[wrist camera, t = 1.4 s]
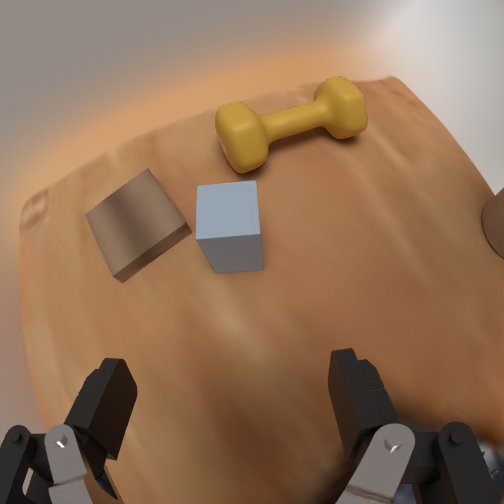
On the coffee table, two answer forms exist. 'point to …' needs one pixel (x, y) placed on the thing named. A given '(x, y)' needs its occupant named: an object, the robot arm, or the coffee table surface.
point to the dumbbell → (289, 122)
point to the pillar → (229, 226)
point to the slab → (136, 225)
